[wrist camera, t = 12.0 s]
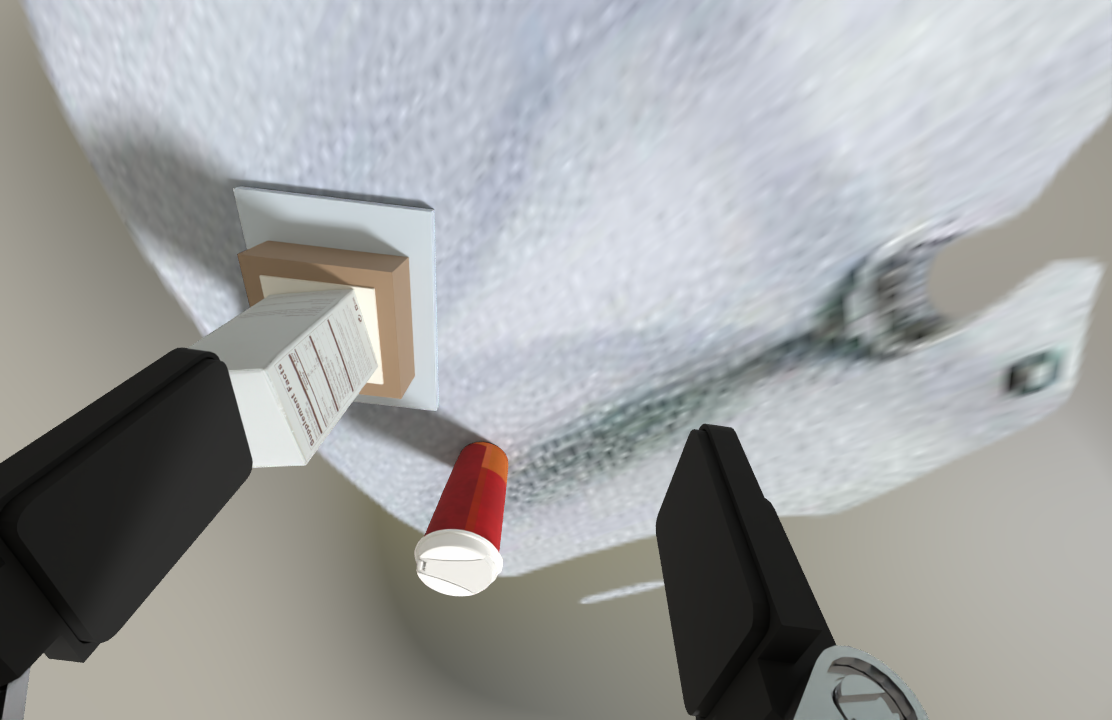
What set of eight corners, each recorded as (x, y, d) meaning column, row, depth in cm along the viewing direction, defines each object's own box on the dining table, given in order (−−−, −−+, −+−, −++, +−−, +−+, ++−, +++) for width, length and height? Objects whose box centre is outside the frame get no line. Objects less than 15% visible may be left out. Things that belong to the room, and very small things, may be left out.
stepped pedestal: (240, 186, 38) (194, 197, 33) (434, 209, 38) (414, 224, 34) (285, 388, 48) (254, 418, 43) (438, 405, 48) (424, 437, 43)
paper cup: (445, 478, 53) (406, 590, 41) (454, 427, 49) (414, 534, 37) (511, 492, 54) (492, 607, 42) (525, 442, 50) (508, 553, 38)
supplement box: (300, 371, 40) (197, 473, 29) (268, 292, 37) (136, 374, 26) (382, 367, 40) (307, 469, 29) (357, 286, 36) (261, 368, 25)
